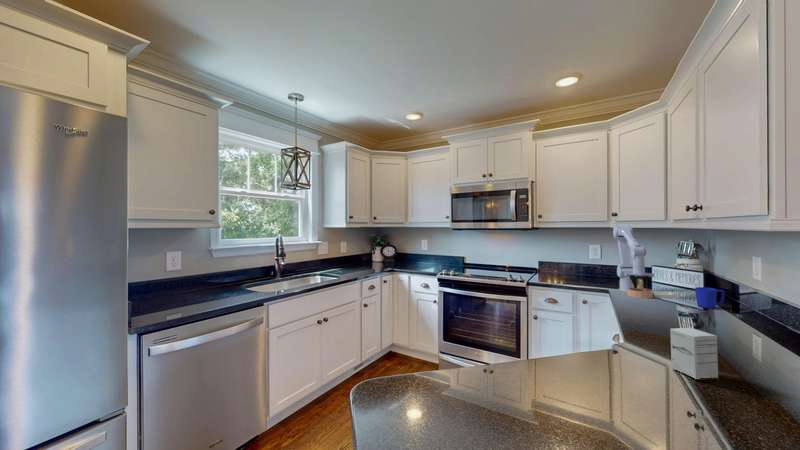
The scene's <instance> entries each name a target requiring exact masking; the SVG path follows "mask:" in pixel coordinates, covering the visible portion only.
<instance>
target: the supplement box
mask: <svg viewBox="0 0 800 450" xmlns="http://www.w3.org/2000/svg"><path fill="white" fill-rule="evenodd" d="M669 331H670V332H669V333H670V358H671V359H670V360H671V361H670V362H671V363H670V364H671V369H672V368H674V369H676V370H678V371H680V372H683V373H685V374H687V375H689V376H691V377H693V378H695V379H700V378H718V379H719V365H718V364H719V362H718V359H719V358H718V335H716V334H712V333H709V332H706V331H703V330H700V329H696V328H693V327H679V328H678V327H677V328H670V330H669Z"/></svg>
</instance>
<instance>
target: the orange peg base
mask: <svg viewBox="0 0 800 450" xmlns="http://www.w3.org/2000/svg"><path fill="white" fill-rule="evenodd" d="M653 291H654V289H650V288H646V289H644V291H636V288H627V292H626V296H628V297H631V298H636V299H654V297H653Z"/></svg>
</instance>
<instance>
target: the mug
mask: <svg viewBox="0 0 800 450" xmlns="http://www.w3.org/2000/svg"><path fill="white" fill-rule="evenodd" d="M694 292H695V293H694V294H695V297H696V304H697V307H699V308H701V309H708V310H710V309H711V310H713V309H715V308H716V307H717V306H720V305H722V304H723V303H724V301H725V290H722V289H717V288H713V287H703V286H702V287H701V286H695V287H694ZM719 292H721V297H720V301H719V302H718V303H717V294H718V293H719Z"/></svg>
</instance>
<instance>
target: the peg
mask: <svg viewBox="0 0 800 450" xmlns="http://www.w3.org/2000/svg"><path fill="white" fill-rule="evenodd" d="M636 291H644V280H643V279H642V278H637V279H636Z"/></svg>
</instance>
